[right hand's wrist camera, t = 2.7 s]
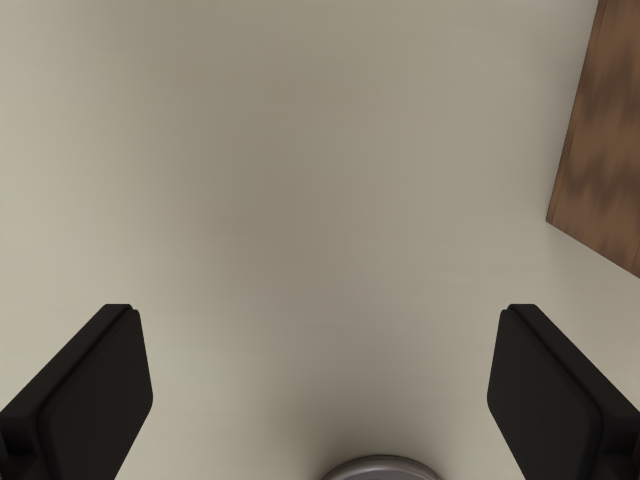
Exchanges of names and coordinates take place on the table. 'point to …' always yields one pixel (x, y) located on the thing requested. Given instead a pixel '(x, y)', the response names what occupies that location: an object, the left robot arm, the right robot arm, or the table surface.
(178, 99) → the table surface
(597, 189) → the cabinet
